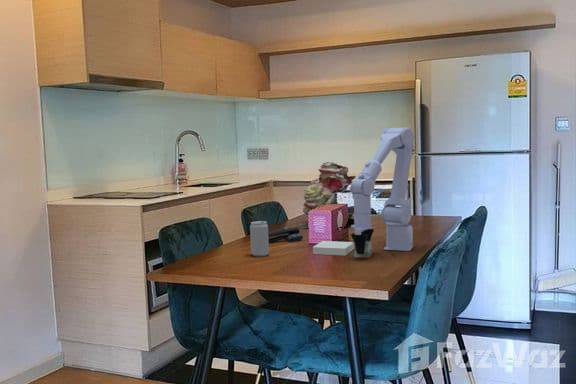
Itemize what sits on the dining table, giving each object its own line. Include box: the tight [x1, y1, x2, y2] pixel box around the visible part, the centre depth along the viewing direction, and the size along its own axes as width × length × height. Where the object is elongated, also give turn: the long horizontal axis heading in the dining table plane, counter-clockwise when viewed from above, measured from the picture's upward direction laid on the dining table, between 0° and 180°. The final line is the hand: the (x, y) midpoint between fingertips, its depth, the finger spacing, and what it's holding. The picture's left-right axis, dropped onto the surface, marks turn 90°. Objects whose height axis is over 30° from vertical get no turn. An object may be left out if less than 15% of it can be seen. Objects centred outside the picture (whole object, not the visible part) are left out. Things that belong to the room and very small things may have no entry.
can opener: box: [268, 226, 304, 244], centre depth 225 cm, size 18×7×6 cm, turn 113°
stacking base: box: [312, 240, 354, 256], centre depth 203 cm, size 12×12×2 cm
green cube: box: [353, 240, 373, 259], centre depth 194 cm, size 5×5×5 cm
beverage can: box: [249, 220, 270, 257], centre depth 200 cm, size 6×6×12 cm
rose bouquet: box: [299, 161, 357, 229], centre depth 259 cm, size 26×29×30 cm
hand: (363, 251), depth 194 cm, fingers open, 7 cm apart
